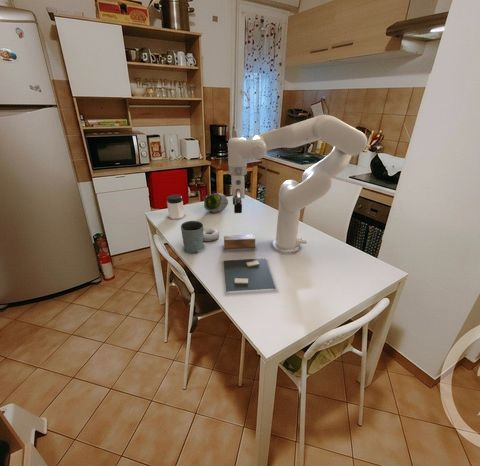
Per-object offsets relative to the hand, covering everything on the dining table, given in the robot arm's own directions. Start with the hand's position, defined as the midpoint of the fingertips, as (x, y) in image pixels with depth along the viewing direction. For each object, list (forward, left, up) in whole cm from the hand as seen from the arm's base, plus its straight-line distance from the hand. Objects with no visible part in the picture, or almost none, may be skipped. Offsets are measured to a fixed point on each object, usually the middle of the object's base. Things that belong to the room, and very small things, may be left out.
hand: (237, 208), depth 116 cm
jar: (+32, -37, -19) cm, 53 cm away
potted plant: (+9, -42, -19) cm, 47 cm away
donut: (+13, -9, -19) cm, 25 cm away
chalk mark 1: (+1, +29, -18) cm, 34 cm away
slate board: (-2, +24, -19) cm, 31 cm away
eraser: (-1, +3, -19) cm, 19 cm away
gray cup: (+20, +1, -19) cm, 28 cm away
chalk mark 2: (-5, +18, -18) cm, 26 cm away
